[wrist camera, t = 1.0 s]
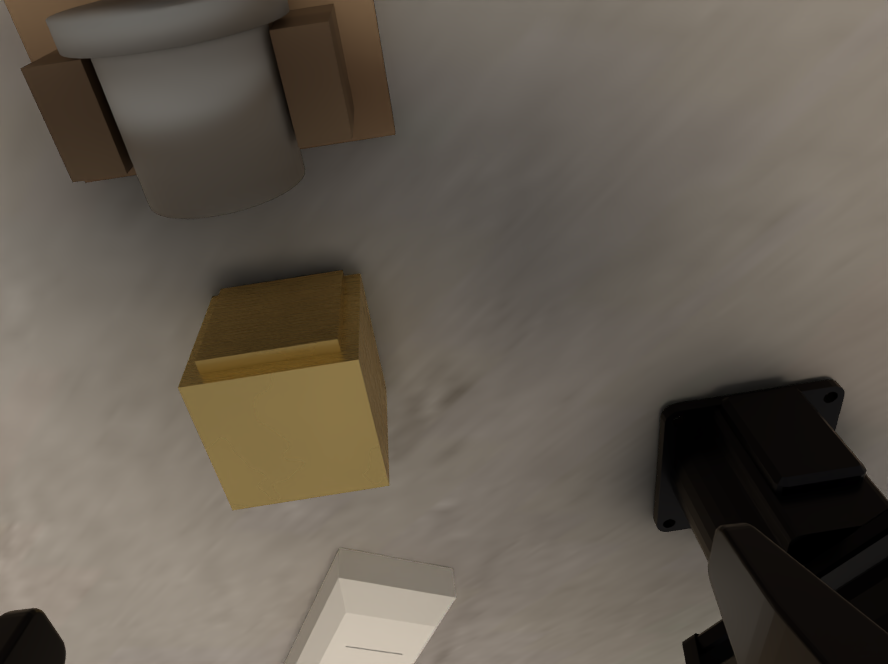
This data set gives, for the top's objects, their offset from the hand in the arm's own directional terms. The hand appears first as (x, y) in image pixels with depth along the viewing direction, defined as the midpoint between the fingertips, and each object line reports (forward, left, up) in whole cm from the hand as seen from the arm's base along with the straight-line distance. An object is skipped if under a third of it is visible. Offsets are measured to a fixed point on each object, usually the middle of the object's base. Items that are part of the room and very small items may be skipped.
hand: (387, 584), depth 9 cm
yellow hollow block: (-4, +3, -13) cm, 14 cm away
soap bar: (-19, +4, -13) cm, 23 cm away
